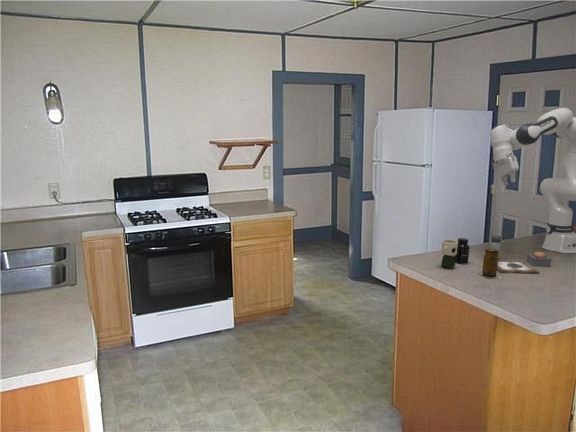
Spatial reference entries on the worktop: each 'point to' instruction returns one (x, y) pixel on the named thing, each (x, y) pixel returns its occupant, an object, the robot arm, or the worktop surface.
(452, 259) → the character mug
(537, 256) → the button
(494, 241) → the grey cylinder
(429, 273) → the worktop surface
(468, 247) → the supplement bottle
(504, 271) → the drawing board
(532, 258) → the button box
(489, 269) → the condiment
